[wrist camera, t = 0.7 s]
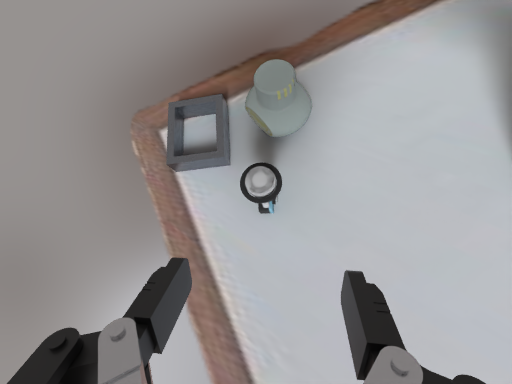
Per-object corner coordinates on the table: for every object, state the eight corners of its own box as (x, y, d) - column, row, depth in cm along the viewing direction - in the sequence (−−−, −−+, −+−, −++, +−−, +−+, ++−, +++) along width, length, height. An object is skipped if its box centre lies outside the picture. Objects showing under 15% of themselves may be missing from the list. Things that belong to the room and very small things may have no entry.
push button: (252, 176, 41) (239, 151, 32) (284, 175, 41) (280, 148, 31) (251, 216, 40) (237, 201, 30) (285, 215, 39) (281, 200, 29)
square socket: (227, 106, 46) (222, 93, 43) (230, 165, 43) (224, 156, 39) (177, 114, 47) (168, 102, 44) (176, 171, 44) (166, 164, 40)
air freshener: (242, 111, 45) (227, 71, 36) (276, 83, 46) (271, 36, 36) (281, 151, 42) (277, 118, 32) (318, 120, 42) (324, 79, 33)
